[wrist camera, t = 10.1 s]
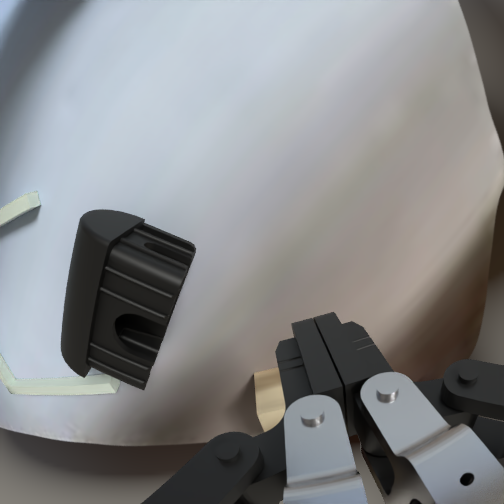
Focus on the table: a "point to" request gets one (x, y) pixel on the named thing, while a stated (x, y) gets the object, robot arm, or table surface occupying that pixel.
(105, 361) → the end cap
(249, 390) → the table surface
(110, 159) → the table surface
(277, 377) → the maple block
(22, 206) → the pale green frame
